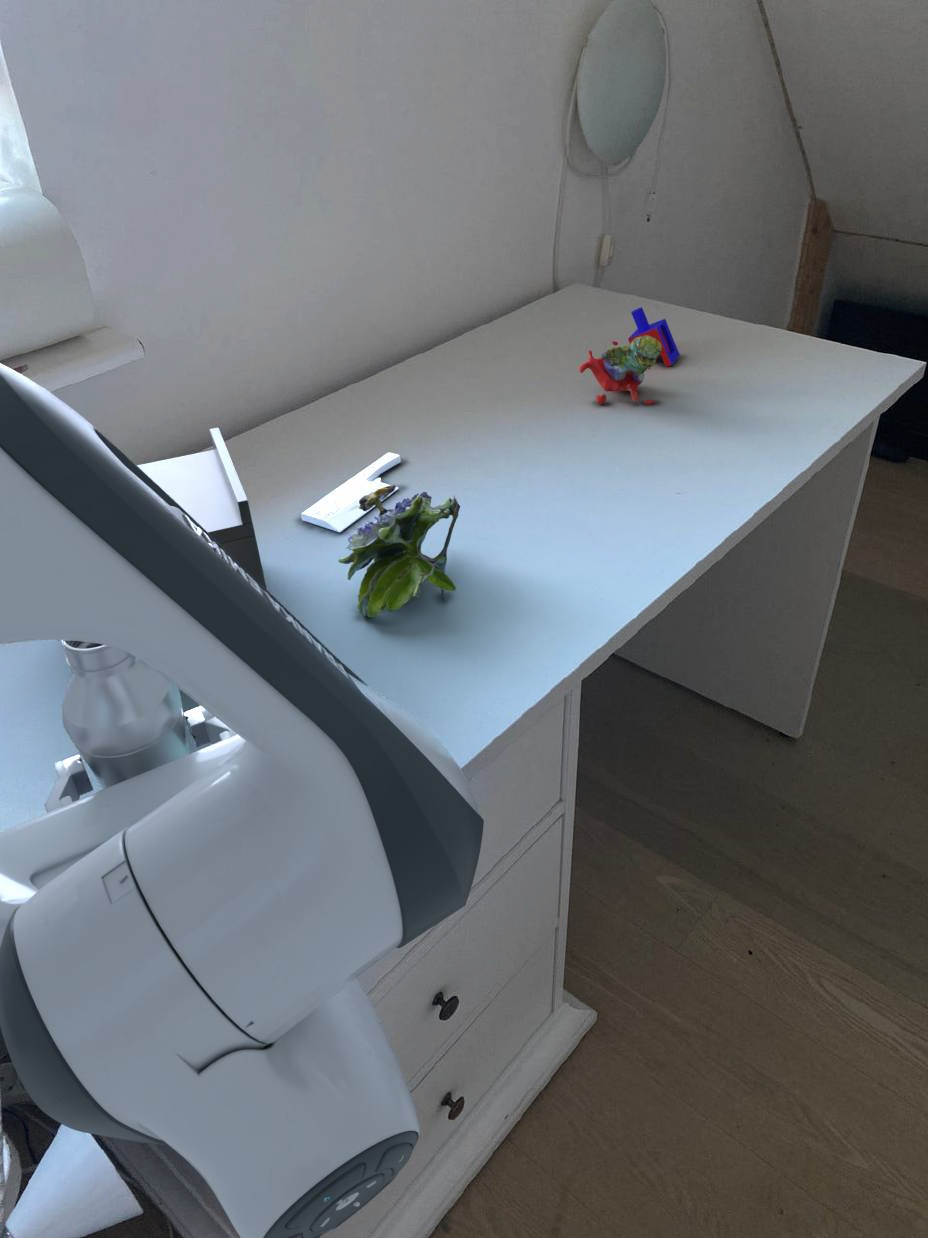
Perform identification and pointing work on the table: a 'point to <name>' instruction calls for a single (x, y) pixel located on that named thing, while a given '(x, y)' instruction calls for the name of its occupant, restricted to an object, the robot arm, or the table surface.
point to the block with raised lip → (212, 499)
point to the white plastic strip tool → (350, 497)
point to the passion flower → (398, 551)
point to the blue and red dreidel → (655, 335)
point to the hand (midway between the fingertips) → (134, 740)
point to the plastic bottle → (120, 713)
